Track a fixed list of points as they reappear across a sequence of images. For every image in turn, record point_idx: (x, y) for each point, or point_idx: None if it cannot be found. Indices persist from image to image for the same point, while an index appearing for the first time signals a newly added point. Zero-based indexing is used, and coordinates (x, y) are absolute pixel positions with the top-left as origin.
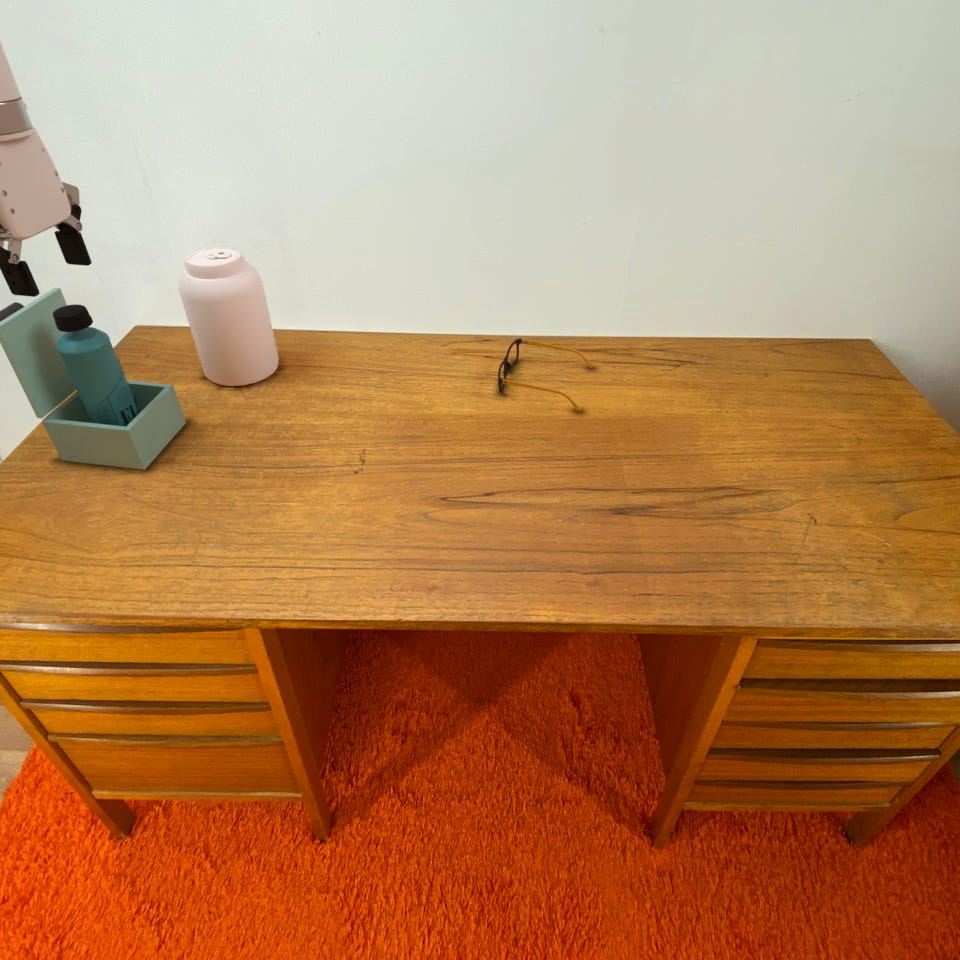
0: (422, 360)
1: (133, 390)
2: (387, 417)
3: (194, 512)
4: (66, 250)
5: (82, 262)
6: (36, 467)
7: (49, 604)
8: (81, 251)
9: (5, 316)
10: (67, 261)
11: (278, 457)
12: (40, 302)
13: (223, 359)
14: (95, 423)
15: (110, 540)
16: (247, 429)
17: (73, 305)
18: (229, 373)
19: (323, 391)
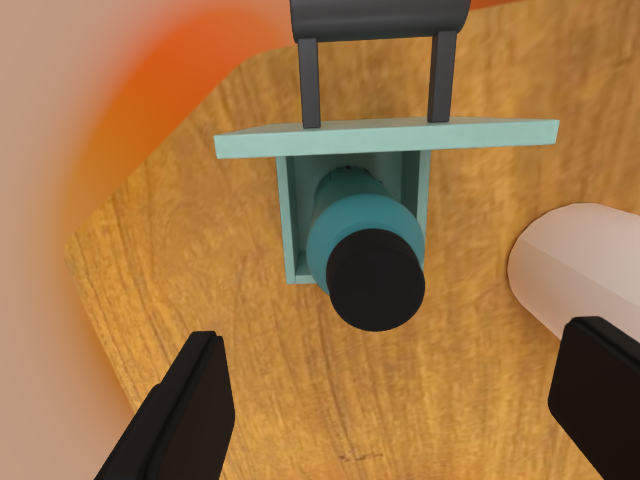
0: (585, 466)
1: (413, 205)
2: (446, 460)
3: (241, 344)
4: (617, 390)
5: (558, 399)
6: (260, 100)
7: (81, 282)
8: (593, 463)
9: (367, 29)
10: (572, 334)
11: (351, 384)
12: (431, 149)
13: (533, 293)
14: (290, 226)
15: (174, 286)
16: (401, 332)
17: (411, 285)
18: (518, 283)
19: (501, 384)
